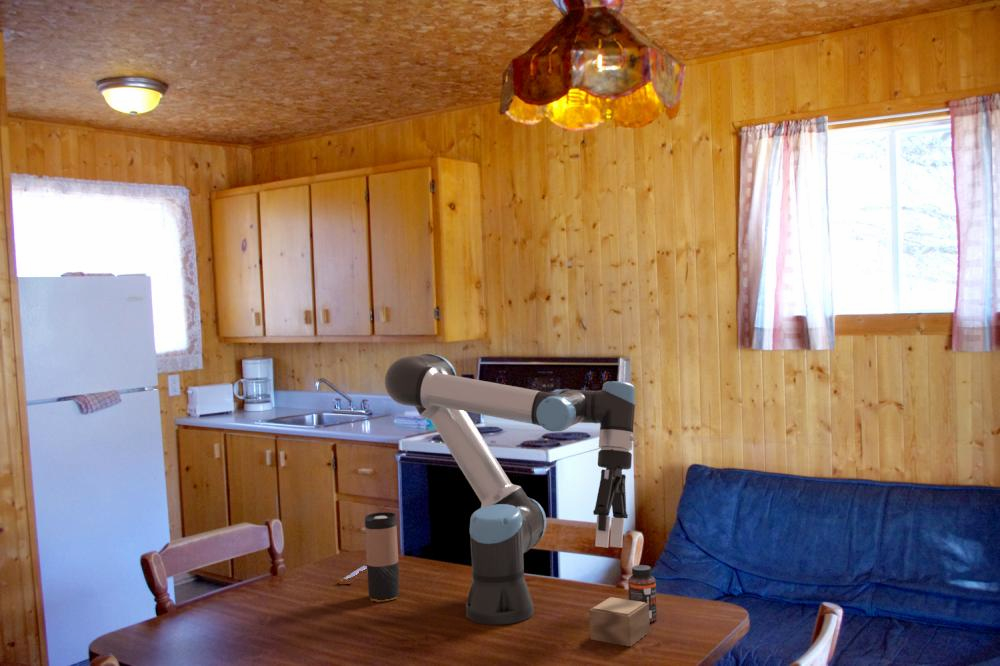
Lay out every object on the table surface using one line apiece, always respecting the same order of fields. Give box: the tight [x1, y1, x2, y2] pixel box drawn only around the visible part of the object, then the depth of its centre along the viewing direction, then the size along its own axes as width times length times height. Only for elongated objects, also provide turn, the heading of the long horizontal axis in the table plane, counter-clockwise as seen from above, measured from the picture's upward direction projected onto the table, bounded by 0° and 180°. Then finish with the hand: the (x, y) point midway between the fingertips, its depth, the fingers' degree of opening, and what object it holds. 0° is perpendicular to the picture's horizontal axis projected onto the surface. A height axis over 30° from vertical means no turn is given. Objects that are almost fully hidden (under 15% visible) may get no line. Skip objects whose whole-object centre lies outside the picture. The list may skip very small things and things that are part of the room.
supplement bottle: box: [627, 564, 658, 623], centre depth 188 cm, size 6×6×11 cm
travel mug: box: [364, 511, 400, 600], centre depth 212 cm, size 8×8×20 cm
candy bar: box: [338, 565, 367, 581], centre depth 232 cm, size 17×4×2 cm, turn 161°
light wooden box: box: [588, 596, 651, 647], centre depth 179 cm, size 9×9×6 cm
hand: (609, 547), depth 193 cm, fingers open, 13 cm apart
